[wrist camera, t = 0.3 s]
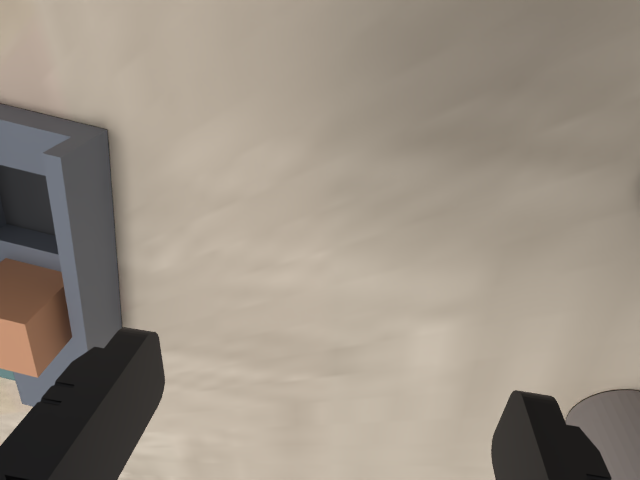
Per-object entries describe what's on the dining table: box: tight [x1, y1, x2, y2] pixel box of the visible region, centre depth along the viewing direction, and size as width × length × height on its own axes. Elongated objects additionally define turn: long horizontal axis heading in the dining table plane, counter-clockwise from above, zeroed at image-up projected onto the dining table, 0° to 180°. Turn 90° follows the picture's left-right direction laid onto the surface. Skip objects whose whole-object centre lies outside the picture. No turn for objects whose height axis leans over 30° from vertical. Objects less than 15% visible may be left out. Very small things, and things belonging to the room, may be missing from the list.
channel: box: [0, 104, 122, 407], centre depth 33 cm, size 28×9×4 cm, turn 169°
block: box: [0, 258, 72, 378], centre depth 30 cm, size 5×5×5 cm
